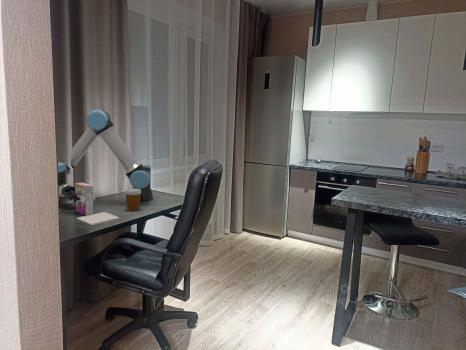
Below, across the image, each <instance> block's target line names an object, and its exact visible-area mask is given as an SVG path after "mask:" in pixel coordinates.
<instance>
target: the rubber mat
mask: <svg viewBox="0 0 466 350" xmlns="http://www.w3.org/2000/svg"><path fill="white" fill-rule="evenodd" d="M76 220H78V221H80V222H83V223H84V224H88V225H90V226H96V225H99V224H104V223H107V222H112V221H117V220H120V217H119V216H116V215H114V214H112V213H109V212H106V211H103V212H102V211H101V212H99V213H94V214H92V215H88V216H85V215H83V216H77V217H76Z"/></svg>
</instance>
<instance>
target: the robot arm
mask: <svg viewBox="0 0 466 350" xmlns="http://www.w3.org/2000/svg"><path fill="white" fill-rule="evenodd" d="M85 120H86V121H85V122H86V125H87V128H86V129H85V131H84V132H83V134H82V135H81V136H80V138H79V139H78V141H77V142H76V143H75V144H74V146H73V147H72V149H71V150H72V154H71V161H70V162H71V166H72V168H73V170H74V169H75V167H76V166H77V164H78V163H79V162H80V161H81V160H82V158H83V156H85V154H86V153H87V152H88V150H89V149H90V147H92V145H93V143H94V142H95V141H96V139H97V138H98V137H99V138H101V139H102V140H103V141H104V143H106V146H107V147H108V148H109V149H110V151H111V152H112V153H113V155H114V157H115V158H116V159H117V161H118V162H119V163H120V165H121V166H122V167H123V169H124V170H125V172H124V174H125V176H126V177H127V179H128V180H129V183H130V185H131V186H132V188H137V189H140V190H141V195H140V202H149V201H152V200H154V195H153V191H152V189H151V187H152V186H151V185H152V183H151V181H152V180H151V177H152V176H151V174H152V172H151V171H152V168H151V165H150V164H143V163H141V162H138V161H137V160H136V158H135V157H134V155H133V153H131V151H130V150H129V148H128V147H127V145H126V144H125V143H124V141H123V140H122V138H121V137H120V135H119V134H118V132H116V130H115V124H114V123H113V121H112V119H111V115H110V114H109V113H108V112H107V111H106V110H103V109H94V110H91V111H90V112H88V114H87V115H86V118H85ZM62 162H63V161H61V162H59V161H58V185H59V195H58V196H60V197H61V198H63V199H66V200H69V201H74V202H76V201H77V200H78V201H81V202H85V197H82V196H80V195H76V194H75V186H73V185H70V184H67V176H68V175H70V174H71V173H70V168H69V167H68V166H67V165H66V164H65V163H62ZM69 173H70V174H69ZM94 201H96V196H95V195H94V194H93V202H94Z"/></svg>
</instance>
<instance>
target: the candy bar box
mask: <svg viewBox="0 0 466 350" xmlns="http://www.w3.org/2000/svg"><path fill="white" fill-rule="evenodd" d="M74 187H75V194H76V195H80V196H82V197H85V202H81V201H78V200H77V201H75V212H76V213H78V214H81V215H83V216H88V215H93V214H95V213H94V201H93V195H94V185H92V184H88V183H86V182H76V183H74Z"/></svg>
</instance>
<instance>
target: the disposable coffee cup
mask: <svg viewBox="0 0 466 350" xmlns="http://www.w3.org/2000/svg"><path fill="white" fill-rule="evenodd" d="M124 195H125V199H126V201H125V202H126V207H127V211H129V212H130V211H131V212H136V211H139V208H140V202H141V201H140V195H141V190H140V189H137V188H131V187H130V188H126V189H125V190H124Z"/></svg>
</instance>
